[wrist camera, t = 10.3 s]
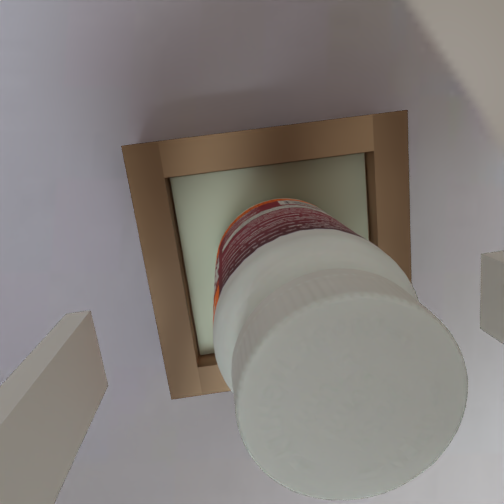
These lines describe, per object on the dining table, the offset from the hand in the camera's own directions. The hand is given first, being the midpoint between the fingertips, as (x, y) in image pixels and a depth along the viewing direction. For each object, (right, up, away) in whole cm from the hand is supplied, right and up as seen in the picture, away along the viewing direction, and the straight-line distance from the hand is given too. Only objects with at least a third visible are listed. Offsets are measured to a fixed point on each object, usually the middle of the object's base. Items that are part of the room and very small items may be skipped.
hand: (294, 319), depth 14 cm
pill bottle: (0, +2, +6) cm, 6 cm away
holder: (0, +2, +8) cm, 8 cm away
